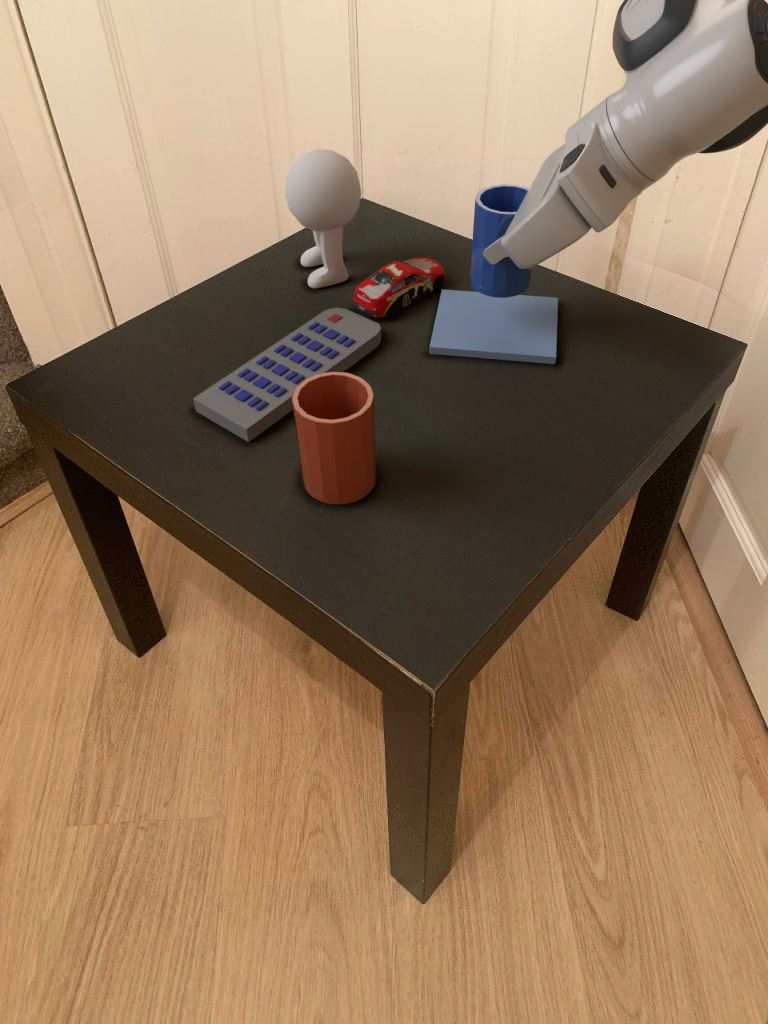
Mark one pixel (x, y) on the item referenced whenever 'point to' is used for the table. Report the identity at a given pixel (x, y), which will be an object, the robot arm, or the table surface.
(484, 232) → the blue cup
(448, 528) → the table surface
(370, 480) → the terracotta cup
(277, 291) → the table surface
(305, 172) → the toy character
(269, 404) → the remote control
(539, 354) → the blue mat
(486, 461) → the table surface
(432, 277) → the race car
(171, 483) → the table surface
